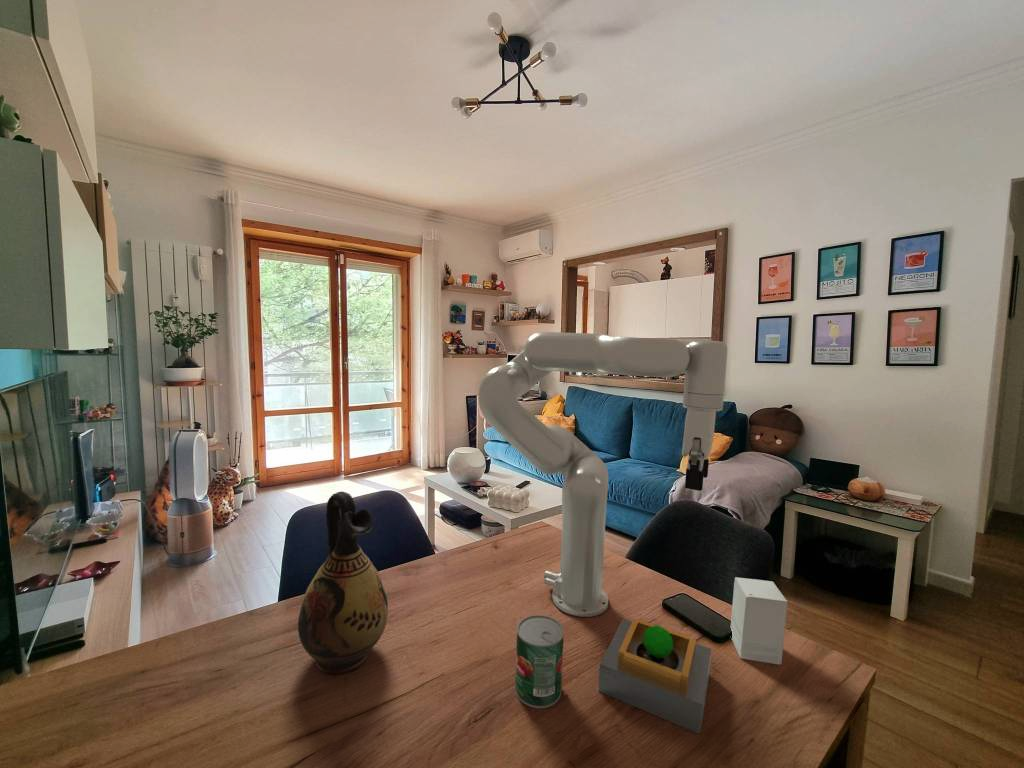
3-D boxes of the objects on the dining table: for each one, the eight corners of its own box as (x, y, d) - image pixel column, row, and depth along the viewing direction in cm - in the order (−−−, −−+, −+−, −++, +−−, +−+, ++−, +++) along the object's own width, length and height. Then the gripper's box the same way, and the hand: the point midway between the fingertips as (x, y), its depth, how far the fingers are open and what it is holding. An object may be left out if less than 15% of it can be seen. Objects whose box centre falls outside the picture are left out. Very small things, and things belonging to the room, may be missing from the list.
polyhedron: (646, 640, 80) (647, 616, 80) (674, 651, 78) (676, 625, 77) (638, 657, 76) (640, 631, 76) (668, 669, 74) (670, 642, 73)
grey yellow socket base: (598, 691, 75) (600, 652, 74) (625, 634, 90) (627, 601, 89) (700, 734, 68) (703, 692, 67) (711, 664, 82) (713, 629, 82)
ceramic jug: (404, 654, 82) (405, 499, 79) (322, 703, 71) (318, 524, 68) (359, 613, 94) (358, 476, 91) (282, 650, 83) (277, 495, 79)
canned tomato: (505, 685, 76) (507, 625, 75) (540, 665, 81) (542, 608, 80) (535, 717, 70) (537, 652, 69) (571, 693, 74) (574, 633, 73)
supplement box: (782, 666, 82) (789, 602, 81) (739, 659, 84) (745, 596, 83) (768, 639, 90) (774, 580, 88) (728, 633, 91) (733, 575, 90)
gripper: (689, 395, 100) (683, 469, 102) (676, 404, 85) (670, 491, 87) (726, 398, 96) (719, 475, 98) (719, 408, 81) (712, 498, 83)
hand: (696, 482), depth 92 cm, fingers open, 9 cm apart
